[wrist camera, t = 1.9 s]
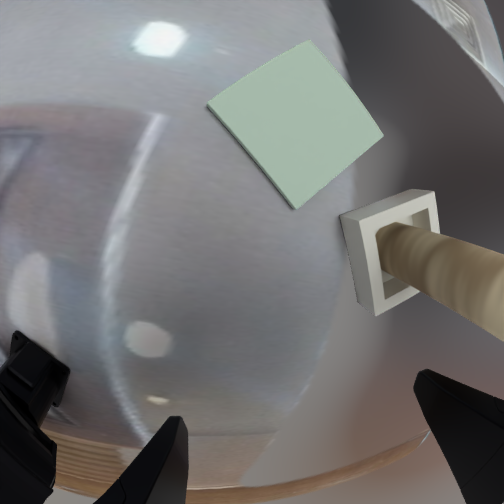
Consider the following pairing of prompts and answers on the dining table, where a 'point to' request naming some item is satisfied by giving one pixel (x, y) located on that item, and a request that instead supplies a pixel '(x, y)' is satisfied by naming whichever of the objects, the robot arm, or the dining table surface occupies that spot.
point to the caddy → (365, 247)
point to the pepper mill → (447, 272)
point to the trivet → (297, 121)
